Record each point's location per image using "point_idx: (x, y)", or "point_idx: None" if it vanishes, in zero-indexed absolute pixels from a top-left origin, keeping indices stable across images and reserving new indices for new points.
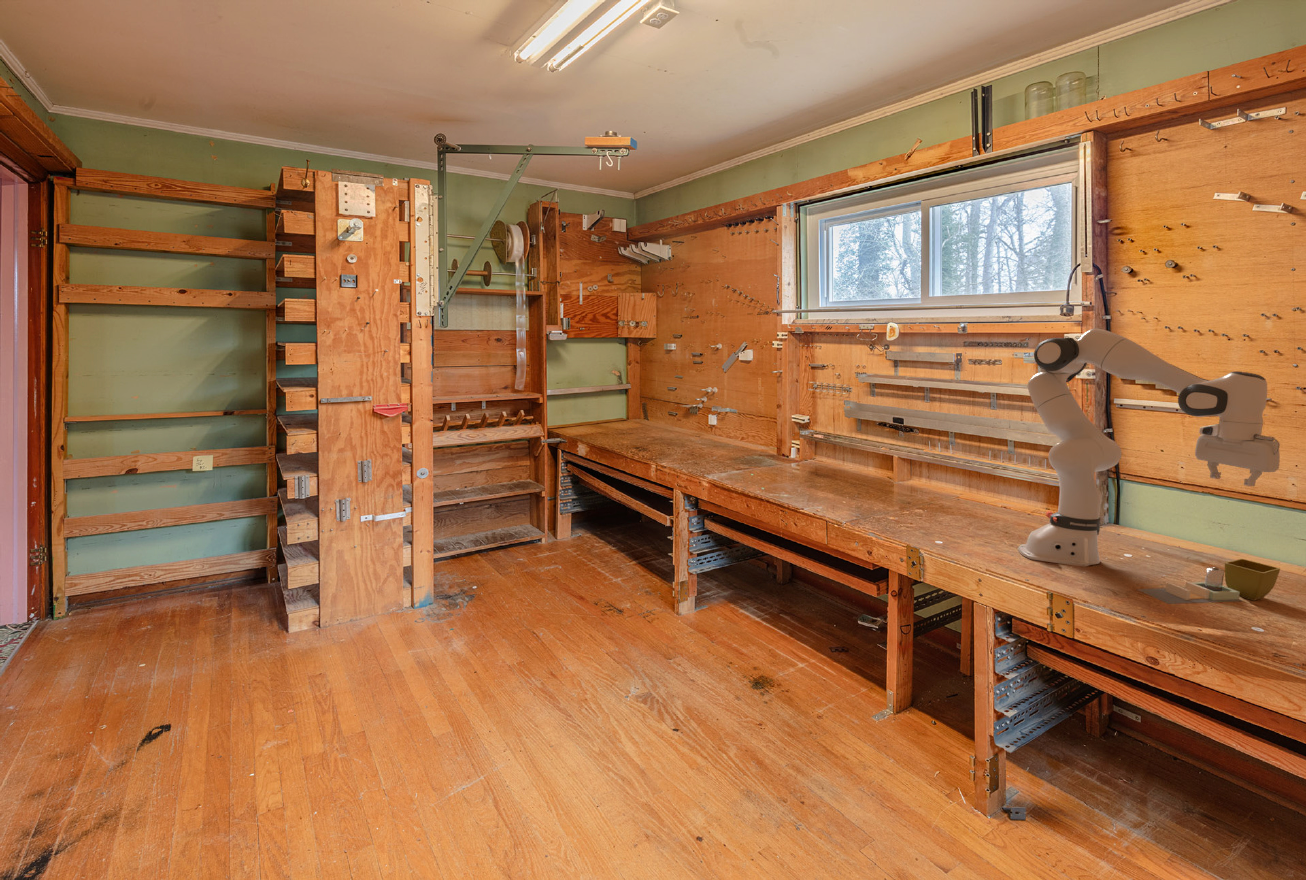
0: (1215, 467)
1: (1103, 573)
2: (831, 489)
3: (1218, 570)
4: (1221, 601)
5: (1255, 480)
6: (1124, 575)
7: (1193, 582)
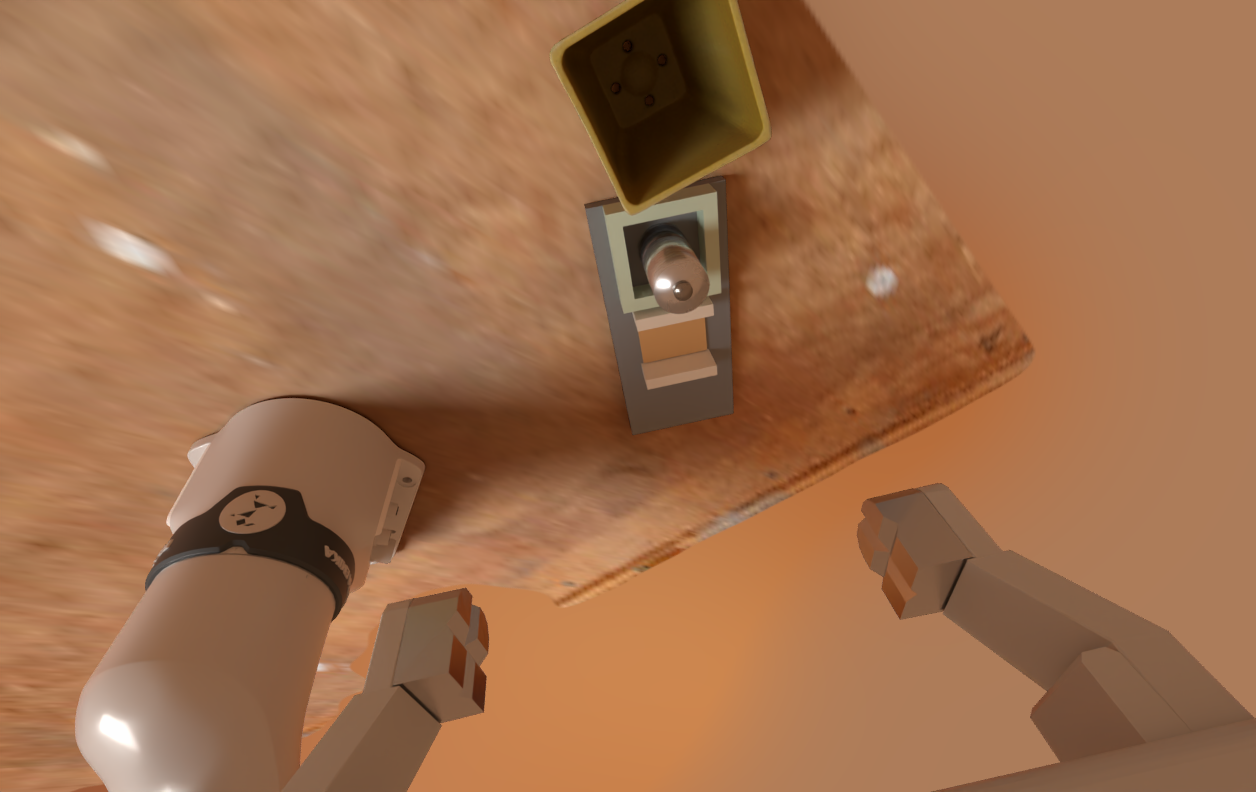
0: (351, 786)
1: (470, 436)
2: None
3: (695, 287)
4: (726, 263)
5: (993, 545)
6: (473, 390)
7: (621, 294)
